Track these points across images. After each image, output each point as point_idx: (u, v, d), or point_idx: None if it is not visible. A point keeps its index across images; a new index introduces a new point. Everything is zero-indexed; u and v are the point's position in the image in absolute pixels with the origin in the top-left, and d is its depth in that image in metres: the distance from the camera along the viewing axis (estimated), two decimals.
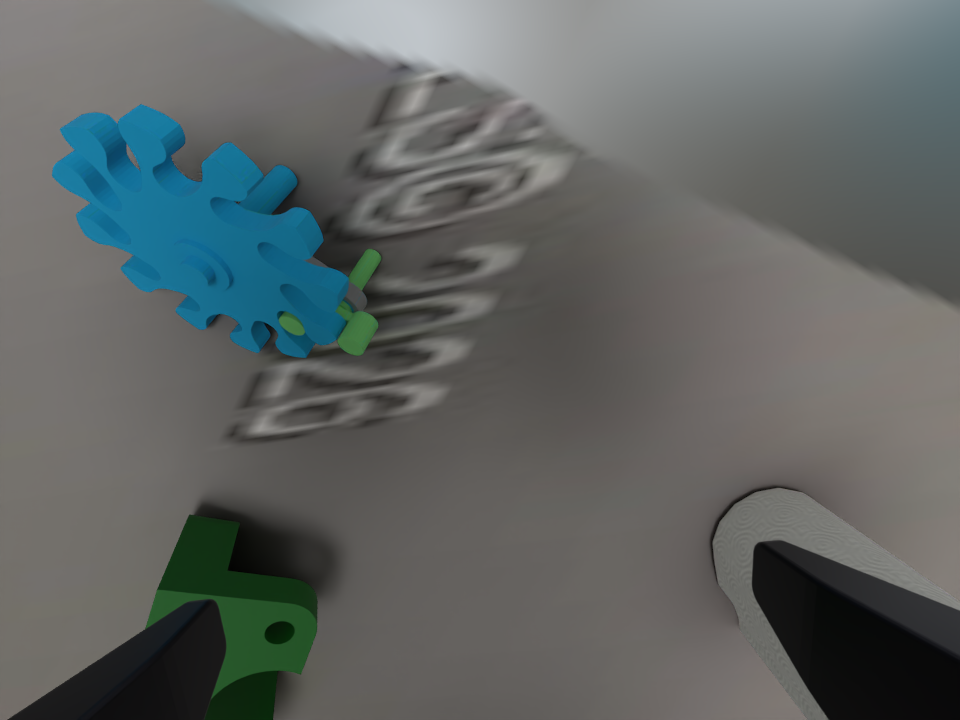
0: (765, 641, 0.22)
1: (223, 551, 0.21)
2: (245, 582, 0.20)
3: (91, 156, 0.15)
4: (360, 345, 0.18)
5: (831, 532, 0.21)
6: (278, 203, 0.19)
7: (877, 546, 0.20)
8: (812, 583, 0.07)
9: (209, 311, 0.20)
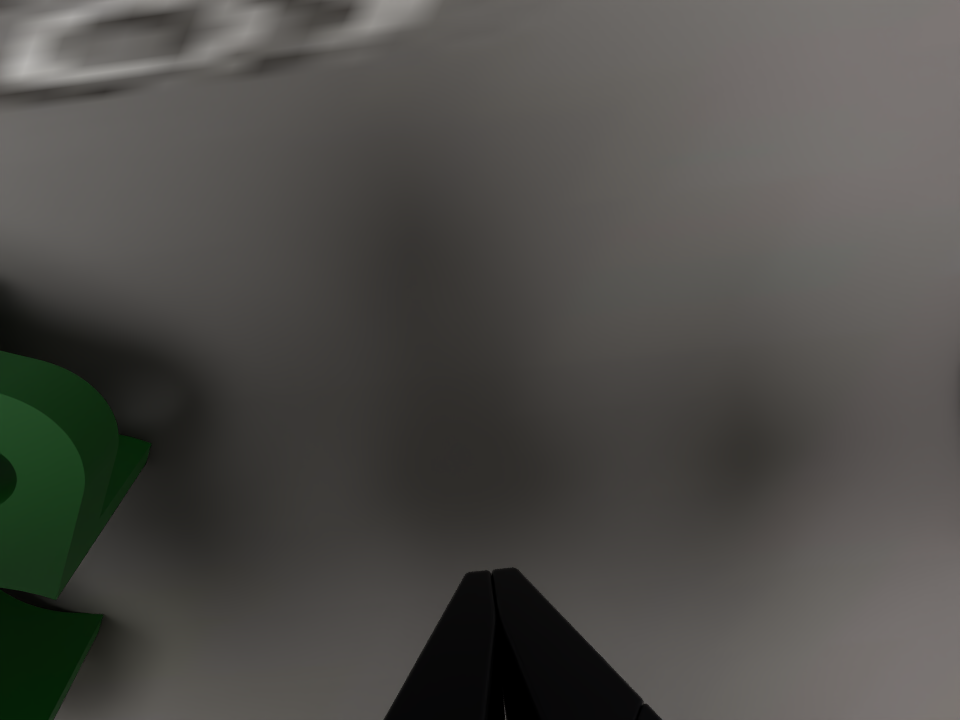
0: None
1: None
2: None
3: None
4: None
5: None
6: None
7: None
8: None
9: None
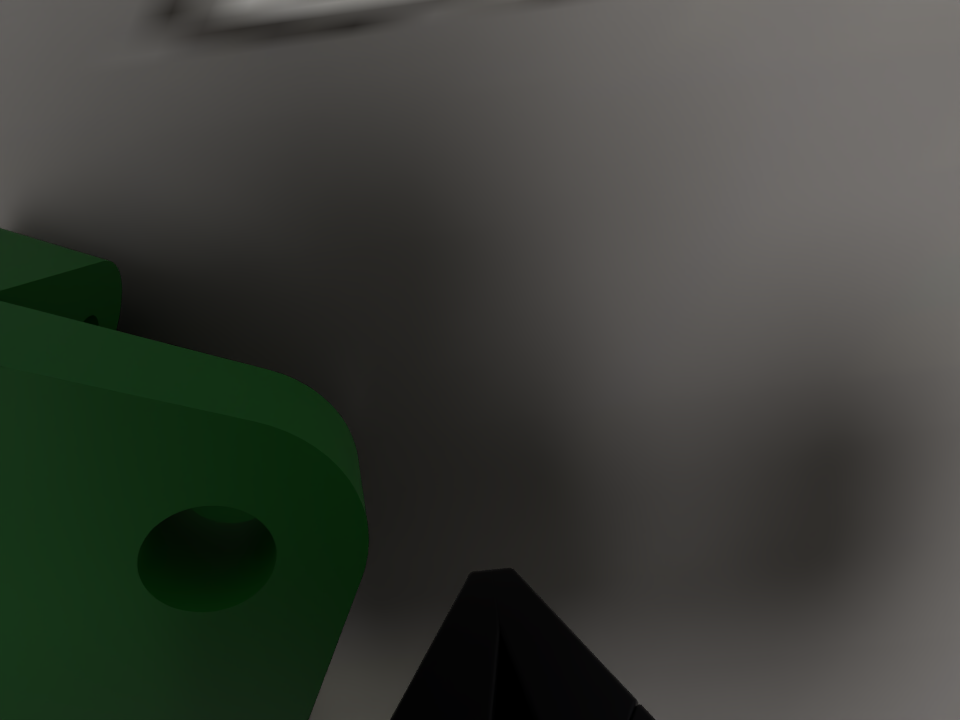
0: None
1: (7, 268, 0.05)
2: (50, 334, 0.04)
3: None
4: None
5: None
6: None
7: None
8: None
9: None
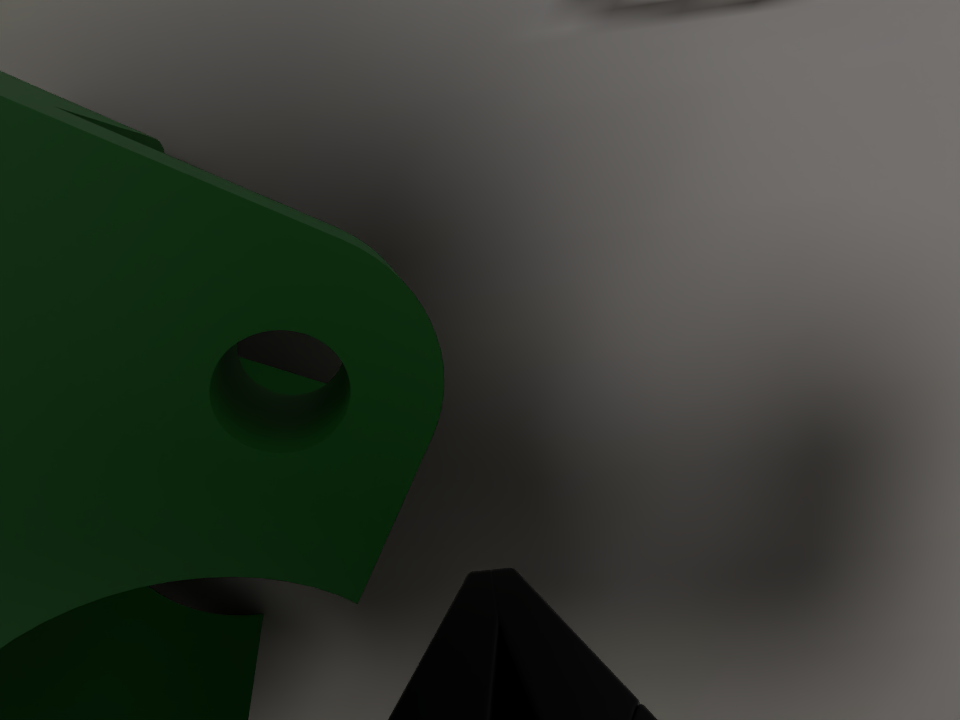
0: None
1: (71, 107, 0.05)
2: (129, 142, 0.04)
3: None
4: None
5: None
6: None
7: None
8: None
9: None
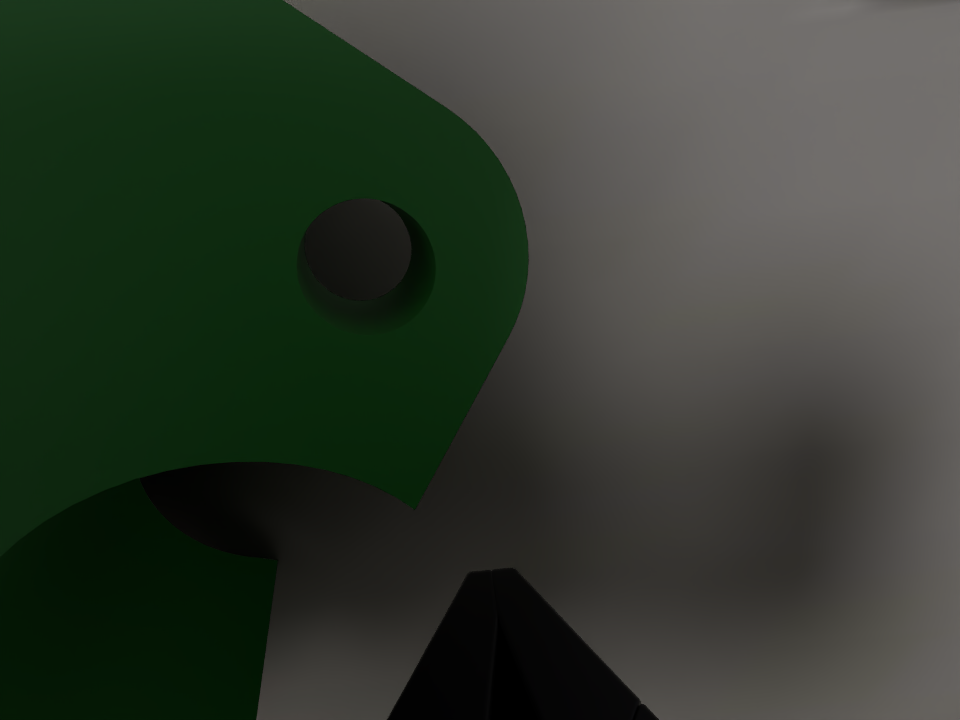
0: None
1: None
2: None
3: None
4: None
5: None
6: None
7: None
8: None
9: None
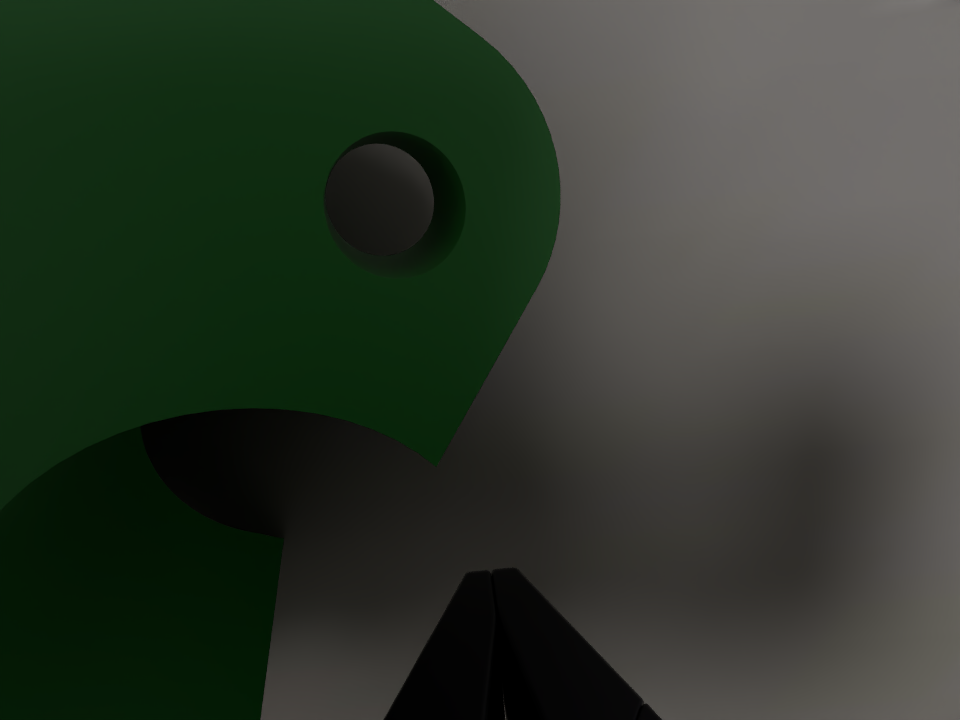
0: None
1: None
2: None
3: None
4: None
5: None
6: None
7: None
8: None
9: None
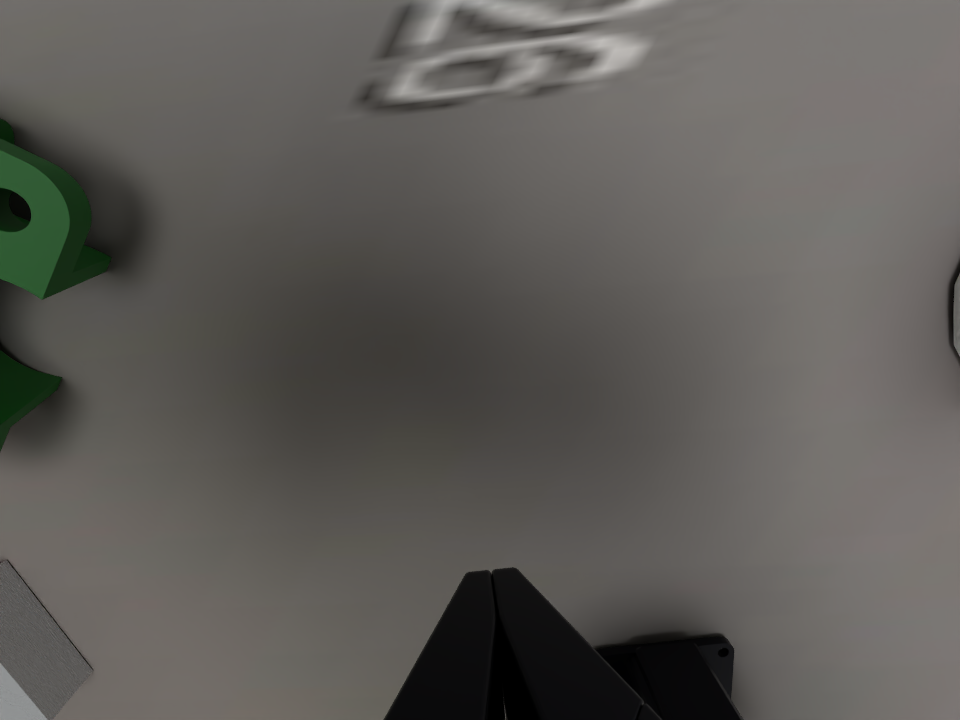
0: None
1: None
2: None
3: None
4: None
5: None
6: None
7: None
8: None
9: None
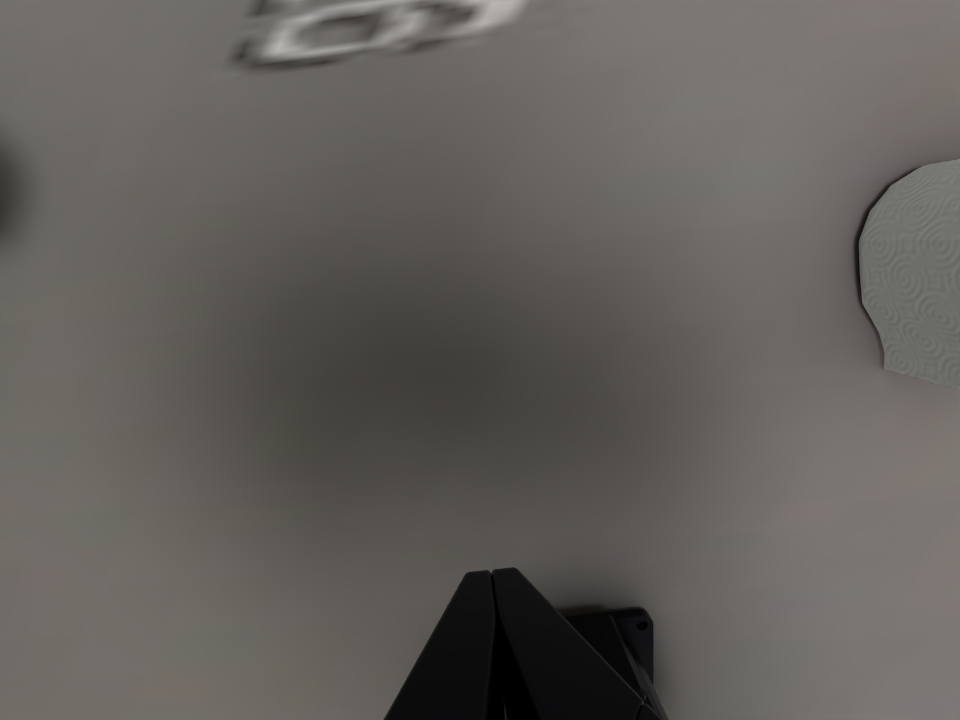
0: None
1: None
2: None
3: None
4: None
5: None
6: None
7: None
8: None
9: None
